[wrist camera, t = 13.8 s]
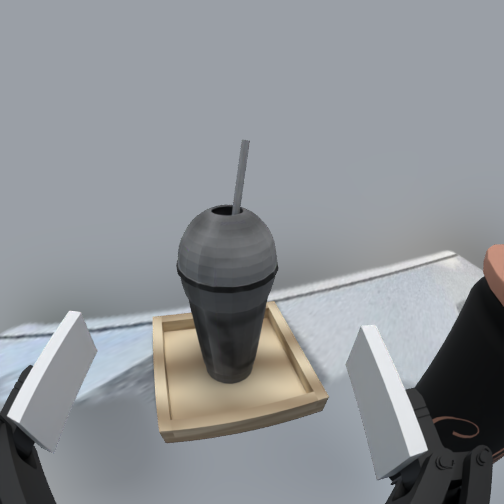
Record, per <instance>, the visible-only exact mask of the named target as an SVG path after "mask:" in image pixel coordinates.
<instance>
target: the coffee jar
mask: <svg viewBox="0 0 504 504" xmlns="http://www.w3.org/2000/svg"><path fill="white" fill-rule="evenodd" d="M483 273H484V275H485V276H484V277H482V278H481V279H480V280H479V281H478V282H477V283H476V284H475V285H474V286H473V288H472V289H471V291H470V293H469V295H468V297H467V300H466V302H465V304H464V306H463V308H462V310H461V312H460V314H459V316H458V318H457V320H456V322H455V324H454V325H453V327H452V329H451V331H450V333H449V335H448V336H447V338H446V340H445V342H444V343H443V345H442V347H441V348H440V350H439V352H438V353H437V355H436V356H435V358H434V360H433V361H432V363H431V364H430V366H429V367H428V369H427V370H426V372H425V373H424V375H423V376H422V378H421V379H420V381H419V382H418V383H417V385H416V386H415V389H416V390H417V391H418V392H419V393H420V394H421V395H422V397H423V399H424V401H425V404H426V408H428V411H429V413H430V416H431V418H432V420H433V423H434V425H435V428H436V430H437V433H438V436H439V438H440V441H441V443H442V445H443V446H444V447H445V448H447V449H449V450H451V451H452V452H468V451H472V450H473V449H475V448H476V447H477V446H479V445H485V446H487V447H488V448H490V450H491V452H492V456H493V463H495V462H496V461H498V460H499V459H500V458H502V457H503V456H504V244H502V245H493V246H492V247H490V248H489V249H488V250H487V252H486V255H485V259H484V268H483ZM400 476H401V473H400V471H399V472H398V473H396V474H395V475H393V476H390V477H389V478H390V479H391V480H392V481H393V480H395V479H397V478H398V477H400ZM395 485H396V483H395Z"/></svg>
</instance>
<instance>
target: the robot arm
mask: <svg viewBox="0 0 504 504" xmlns="http://www.w3.org/2000/svg"><path fill="white" fill-rule="evenodd" d="M96 353H97V349H96V347H95V345H94V342H93V340H92V338H91V335H90V333H89V331H88V328H87V326H86V323H85V321H84V318H83V316H82V313H81V312H76V311H69V312H68V313H67V315H66V316H65V318H64V319H63V321H62V322H61V324H60V325H59V326H58V328H57V329H56V331H55V332H54V334H53V335H52V337H51V339H50V340H49V342H48V343H47V345H46V346H45V348H44V350H43V351H42V353H41V354H40V356H39V358H38V359H37V361H36V363H35V364H34V366H32V365H29V366H28V367H27V368H26V369H25V370H24V371H23V372H22V373H21V375H20V377H19V379H18V382H16V384H15V386H14V388H13V389H12V391H11V393H10V395H9V397H8V399H7V401H6V403H5V405H4V407H3V409H2V411H1V412H0V504H56V502H55V500H54V497H53V495H52V493H51V490H50V488H49V485H48V483H47V480H46V477H45V475H44V472H43V469H42V466H41V463H40V460H39V457H38V454H37V450H36V448H35V446H34V443H37V444H38V445H39V446H40V447H41V448H43V449H45V450H47V451H49V452H51V453H53V454H54V452H55V450H56V447H57V444H58V441H59V439H60V436H61V433H62V431H63V428H64V426H65V423H66V420H67V418H68V415H69V413H70V411H71V408H72V406H73V403H74V401H75V399H76V396H77V394H78V392H79V390H80V387H81V385H82V383H83V381H84V378H85V376H86V374H87V372H88V370H89V368H90V366H91V364H92V361H93V359H94V357H95V355H96ZM346 367H347V370H348V374H349V377H350V380H351V384H352V387H353V390H354V394H355V397H356V401H357V404H358V408H359V411H360V415H361V418H362V422H363V426H364V430H365V433H366V437H367V441H368V445H369V448H370V453H371V457H372V461H373V465H374V469H375V474H376V478H377V480H380V479H383V478H387V477H390V476H393V475H395V474H396V473H398V472H399V471H400V473H401V476H400V477H398V478H397V479H395V480H393V482H392V483H391V485H393V484H395V483H396V485H395V487H394V489H393V491H392V493H391V495H390V496H389V498H388V500H387V502H386V503H385V504H489V502H490V494H491V483H492V467H493V456H492V452H491V450H490V448H488V447H487V446H485V445H479V446H477V447H476V448H475V449H473V450H472V451H468V452H452V451H451V450H449V449H447V448H445V447H444V446H443V445H442V443H441V441H440V438H439V436H438V433H437V430H436V428H435V425H434V423H433V420H432V418H431V416H430V413H429V411H428V408H426V404H425V401H424V399H423V397H422V395H421V394H420V393H419V392H418V391H417V390H416V389H415V388H411V389H406V390H405V388H404V386H403V384H402V381H401V379H400V377H399V374H398V372H397V370H396V368H395V365H394V363H393V361H392V359H391V357H390V354H389V352H388V350H387V348H386V346H385V344H384V341H383V339H382V337H381V335H380V333H379V331H378V329H377V327H376V325H366V326H361V327H360V330H359V332H358V335H357V338H356V340H355V343H354V345H353V348H352V350H351V353H350V355H349V358H348V360H347V362H346Z"/></svg>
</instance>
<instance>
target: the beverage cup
mask: <svg viewBox="0 0 504 504" xmlns="http://www.w3.org/2000/svg"><path fill="white" fill-rule="evenodd" d="M249 142H250V141H248V140H242V144H241V151H240V158H239V165H238V172H237V180H236V187H235V194H234V202H233V205H220V206H215V207H212V208H210V209H207V210H205V211H204V212H202V213H201V214H199V215H198V216H197V217H195V218H194V219H193V220H192V222H191V223H190V224H189V225H188V227H187V229H186V231H185V232H184V234H183V237H182V238H181V242H180V245H179V250H178V260H177V272H178V275H179V276H180V277H181V281H182V285H183V288H184V290H185V294H186V296H187V297H188V299H189V303H190V308H191V312H192V316H193V321H194V325H195V329H196V333H197V337H198V341H199V345H200V349H201V353H202V356H203V360H204V363H205V365H206V369H207V372H208V374H209V375H210V376H211V377H212V378H213V379H215V380H216V381H218V382H221V383H226V384H233V383H238V382H241V381H243V380H245V379H246V378H247V377H248V376H249V375H250V374H251V371H252V369H253V364H254V361H255V358H256V353H257V349H258V344H259V339H260V334H261V329H262V324H263V319H264V314H265V309H266V304H267V298H268V295H269V293H270V291H271V288H272V285H273V282H274V279H275V275H276V273H277V271H278V264H277V256H276V249H275V243H274V240H273V237H272V234H271V232H270V230H269V229H268V227H267V226H266V225H265V223H264V222H263V221H262V220H261V219H260V218H259V217H258V216H257V215H256V214H254V213H253V212H251V211H249V210H247V209H245V208H242V207H240V206H241V199H242V191H243V184H244V177H245V170H246V163H247V156H248V149H249Z"/></svg>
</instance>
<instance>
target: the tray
mask: <svg viewBox="0 0 504 504" xmlns="http://www.w3.org/2000/svg"><path fill="white" fill-rule="evenodd" d="M153 358H154V378H155V393H156V405H157V416H158V425H159V432H160V434H161V436H162V437H163V439H164V441H165V442H166V443H174V442H184V441H193V440H200V439H207V438H214V437H220V436H226V435H232V434H237V433H242V432H247V431H251V430H256V429H260V428H264V427H269V426H273V425H276V424H280V423H284V422H287V421H291V420H294V419H298V418H301V417H304V416H307V415H311V414H314V413H317V412H320V411H322V410H323V408H324V406H325V404H326V402H327V400H328V398H329V396H328V394H327V392H326V391H325V389H324V387H323V386H322V384H321V382H320V380H319V379H318V377H317V375H316V373H315V372H314V370H313V368H312V366H311V365H310V363H309V361H308V359H307V358H306V356H305V354H304V353H303V351H302V349H301V347H300V346H299V344H298V342H297V340H296V339H295V337H294V335H293V333H292V332H291V330H290V328H289V326H288V325H287V323H286V321H285V319H284V318H283V316H282V314H281V312H280V311H279V309H278V307H277V305H276V304H275V302H274V301H272V302H267V304H266V309H265V314H264V319H263V324H262V329H261V334H260V339H259V344H258V349H257V353H256V358H255V361H254V364H253V369H252V371H251V374H250V375H249V376H248V377H247V378H246V379H245V380H243V381H241V382H238V383H233V384H226V383H221V382H218V381H216V380H215V379H213V378H212V377H211V376H210V375H209V374H208V372H207V369H206V365H205V363H204V360H203V356H202V353H201V349H200V345H199V341H198V337H197V333H196V329H195V325H194V321H193V316H192V313H184V314H176V315H166V316H156V317H153Z"/></svg>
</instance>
